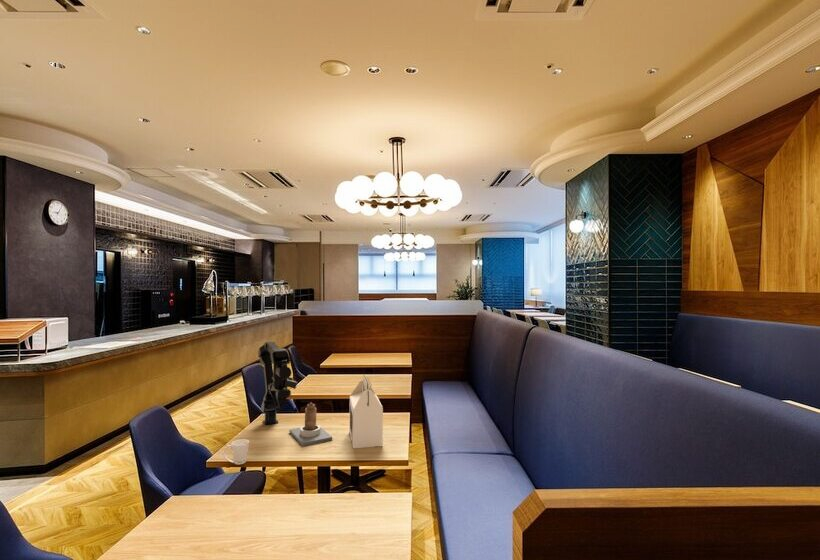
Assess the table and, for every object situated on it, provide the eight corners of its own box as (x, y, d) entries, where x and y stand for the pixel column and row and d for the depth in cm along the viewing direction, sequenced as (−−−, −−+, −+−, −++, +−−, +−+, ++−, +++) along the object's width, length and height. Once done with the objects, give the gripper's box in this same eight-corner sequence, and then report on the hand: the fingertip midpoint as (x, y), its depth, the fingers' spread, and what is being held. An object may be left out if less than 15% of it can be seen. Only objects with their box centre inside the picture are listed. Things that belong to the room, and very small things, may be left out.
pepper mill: (302, 433, 197) (303, 403, 197) (309, 430, 201) (310, 400, 202) (311, 435, 195) (312, 404, 195) (318, 432, 199) (318, 402, 200)
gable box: (382, 446, 186) (383, 383, 186) (353, 448, 183) (353, 385, 184) (376, 429, 208) (376, 373, 208) (349, 431, 205) (349, 374, 205)
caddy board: (289, 432, 203) (289, 424, 203) (317, 427, 210) (317, 419, 210) (302, 446, 186) (302, 437, 186) (332, 440, 193) (332, 431, 193)
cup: (246, 465, 166) (246, 445, 166) (220, 466, 165) (220, 446, 165) (251, 458, 173) (251, 438, 173) (226, 459, 172) (226, 439, 172)
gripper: (301, 376, 201) (301, 409, 200) (290, 369, 216) (289, 400, 216) (278, 379, 195) (277, 413, 194) (268, 372, 210) (267, 403, 210)
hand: (279, 407), depth 204 cm, fingers open, 9 cm apart
